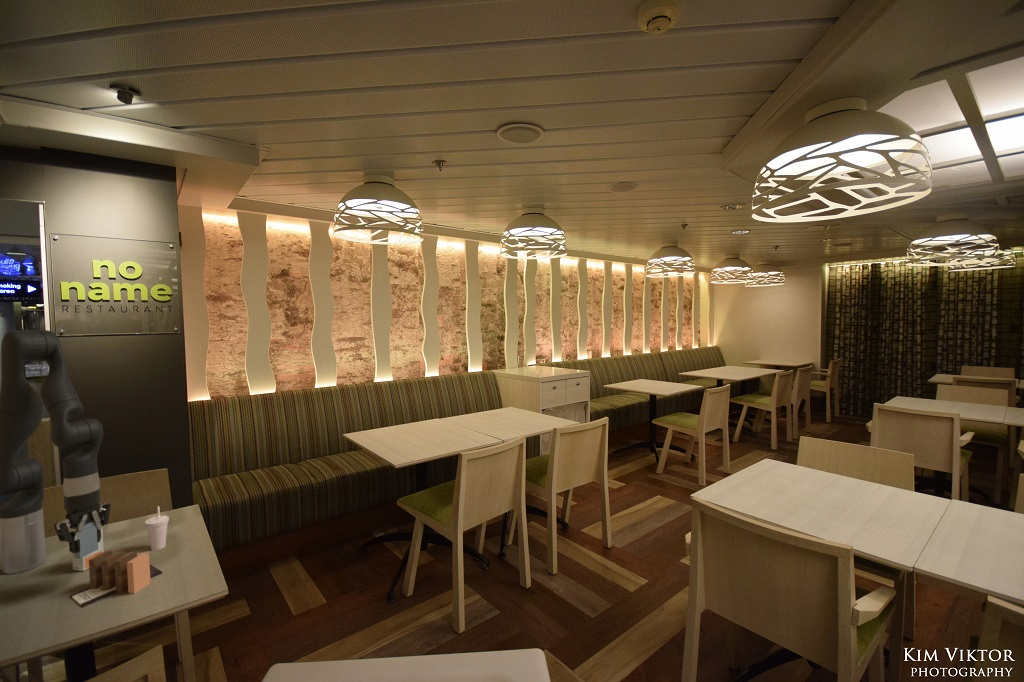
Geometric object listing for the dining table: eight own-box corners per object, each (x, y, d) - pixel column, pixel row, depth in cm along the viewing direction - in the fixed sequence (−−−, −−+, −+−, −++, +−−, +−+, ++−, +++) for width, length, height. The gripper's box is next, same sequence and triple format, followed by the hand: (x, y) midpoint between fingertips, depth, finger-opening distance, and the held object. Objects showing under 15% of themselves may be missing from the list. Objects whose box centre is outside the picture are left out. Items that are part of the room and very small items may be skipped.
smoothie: (173, 545, 151) (171, 505, 150) (150, 554, 145) (148, 512, 145) (165, 540, 154) (163, 501, 153) (142, 548, 149) (140, 508, 148)
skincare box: (83, 571, 136) (81, 533, 135) (72, 570, 137) (70, 532, 136) (105, 561, 142) (103, 524, 141) (94, 559, 142) (92, 523, 142)
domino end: (128, 593, 125) (126, 562, 125) (144, 582, 130) (143, 552, 130) (134, 593, 125) (132, 562, 124) (150, 583, 130) (148, 553, 129)
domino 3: (103, 591, 126) (101, 560, 126) (120, 580, 131) (118, 551, 131) (109, 591, 126) (107, 561, 125) (126, 581, 131) (124, 551, 130)
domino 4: (116, 592, 126) (114, 561, 125) (132, 581, 131) (131, 552, 130) (121, 592, 126) (120, 561, 125) (138, 581, 131) (136, 552, 130)
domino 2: (90, 590, 126) (88, 560, 126) (108, 580, 131) (106, 550, 131) (96, 591, 126) (94, 560, 126) (113, 580, 131) (111, 551, 131)
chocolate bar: (161, 571, 135) (82, 605, 119) (162, 574, 135) (82, 608, 119) (148, 563, 139) (70, 594, 124) (148, 566, 139) (70, 598, 124)
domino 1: (74, 558, 126) (72, 527, 126) (92, 548, 131) (90, 519, 131) (80, 558, 126) (78, 527, 126) (98, 549, 131) (96, 519, 130)
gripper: (95, 480, 135) (99, 534, 136) (41, 499, 121) (46, 560, 122) (118, 480, 134) (121, 535, 135) (66, 500, 120) (70, 561, 121)
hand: (85, 547), depth 128 cm, fingers closed on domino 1, 5 cm apart
